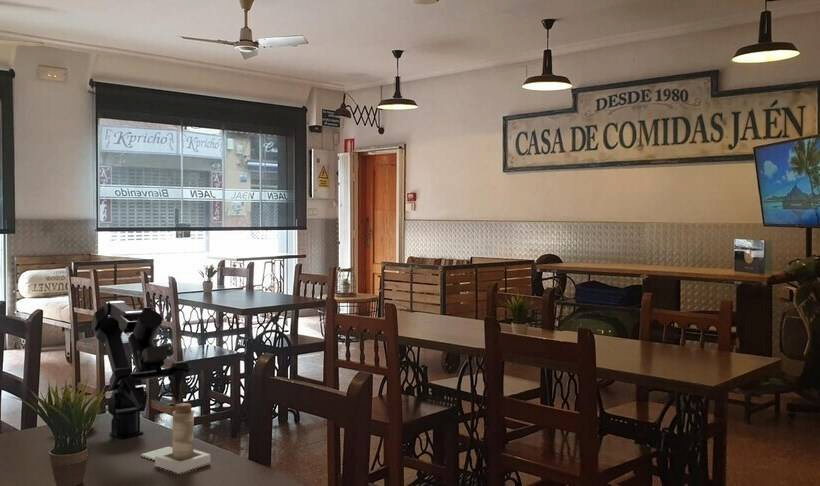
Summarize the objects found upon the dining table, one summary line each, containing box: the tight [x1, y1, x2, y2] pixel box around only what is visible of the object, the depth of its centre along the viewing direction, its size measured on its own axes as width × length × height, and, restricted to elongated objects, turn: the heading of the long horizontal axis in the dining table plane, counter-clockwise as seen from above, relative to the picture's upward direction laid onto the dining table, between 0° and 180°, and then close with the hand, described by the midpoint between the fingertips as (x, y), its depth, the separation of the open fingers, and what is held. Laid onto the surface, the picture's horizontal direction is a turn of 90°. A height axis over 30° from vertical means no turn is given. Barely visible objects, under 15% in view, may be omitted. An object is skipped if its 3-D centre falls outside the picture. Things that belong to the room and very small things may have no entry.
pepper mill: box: [171, 402, 195, 461], centre depth 174 cm, size 5×5×15 cm
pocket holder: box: [154, 448, 211, 473], centre depth 174 cm, size 9×9×2 cm
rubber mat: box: [140, 446, 172, 461], centre depth 181 cm, size 8×8×1 cm
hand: (159, 403), depth 178 cm, fingers open, 9 cm apart
